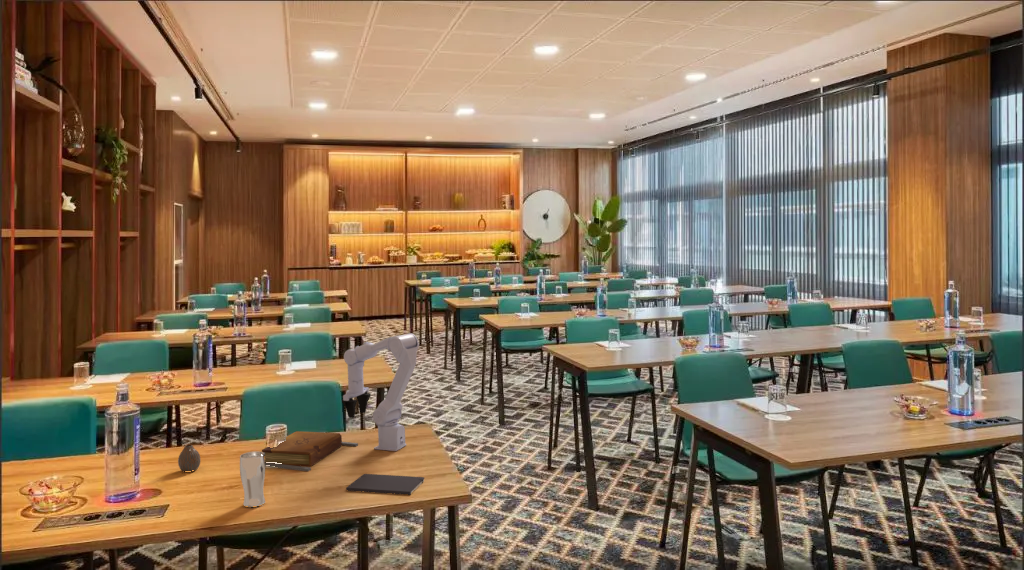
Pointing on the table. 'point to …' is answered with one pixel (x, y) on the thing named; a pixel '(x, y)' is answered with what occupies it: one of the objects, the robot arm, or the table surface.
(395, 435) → the robot arm
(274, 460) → the diary
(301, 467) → the flat grey piece
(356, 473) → the table surface
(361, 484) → the notebook
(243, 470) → the beer glass
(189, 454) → the grey teardrop shape
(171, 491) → the table surface
